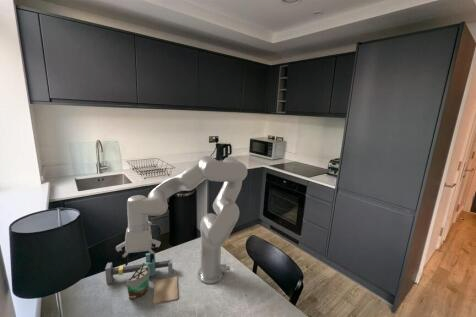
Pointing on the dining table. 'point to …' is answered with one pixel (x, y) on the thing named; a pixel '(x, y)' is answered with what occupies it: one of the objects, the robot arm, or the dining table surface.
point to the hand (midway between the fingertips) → (139, 262)
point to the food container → (138, 282)
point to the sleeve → (151, 264)
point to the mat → (165, 290)
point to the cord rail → (132, 269)
